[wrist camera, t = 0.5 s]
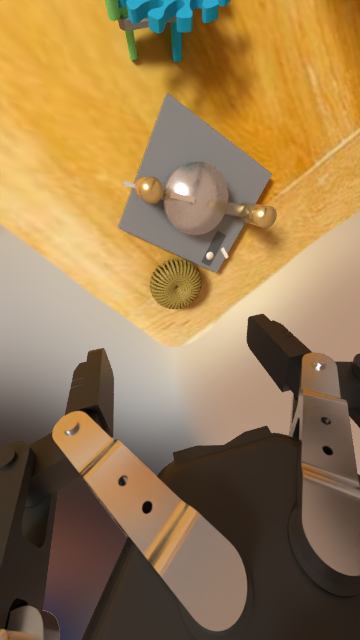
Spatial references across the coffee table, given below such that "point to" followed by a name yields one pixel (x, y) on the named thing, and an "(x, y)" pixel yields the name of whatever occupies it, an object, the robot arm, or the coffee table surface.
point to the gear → (161, 18)
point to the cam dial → (199, 199)
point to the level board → (180, 148)
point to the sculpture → (175, 284)
